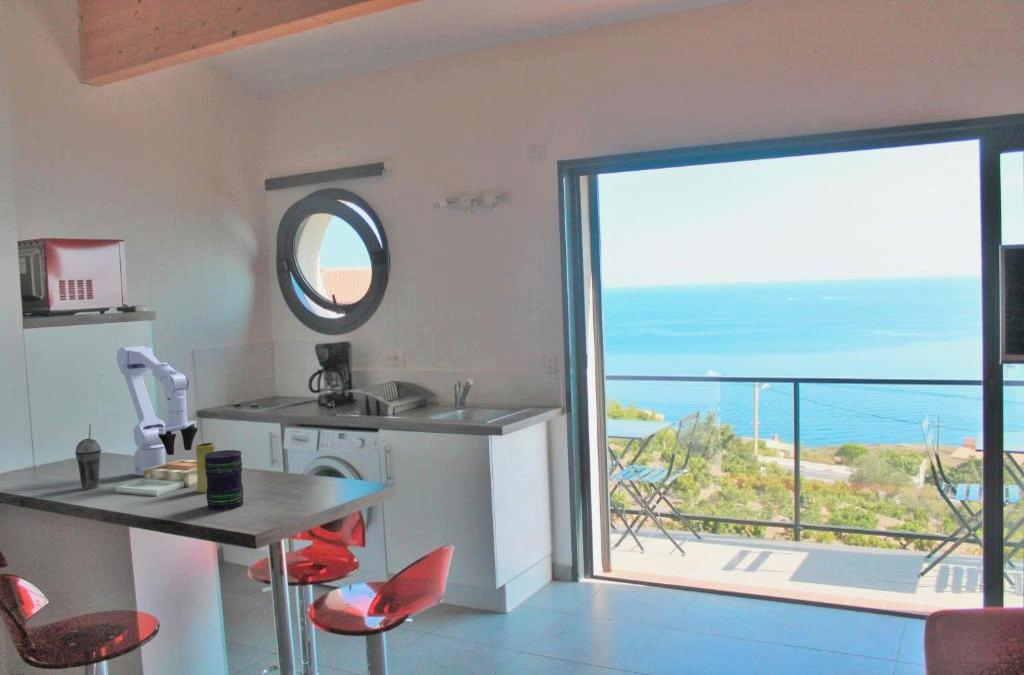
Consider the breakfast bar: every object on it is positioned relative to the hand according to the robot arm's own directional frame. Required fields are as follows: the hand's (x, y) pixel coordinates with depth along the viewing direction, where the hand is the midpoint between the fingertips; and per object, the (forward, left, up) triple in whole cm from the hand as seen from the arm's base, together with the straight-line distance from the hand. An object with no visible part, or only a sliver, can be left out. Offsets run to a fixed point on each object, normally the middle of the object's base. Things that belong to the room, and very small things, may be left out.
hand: (179, 452), depth 258 cm
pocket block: (+2, 0, -9) cm, 9 cm away
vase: (+20, -10, -9) cm, 24 cm away
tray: (+2, -14, -9) cm, 17 cm away
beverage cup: (-20, -17, -9) cm, 28 cm away
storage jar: (+38, -23, -9) cm, 45 cm away
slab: (+1, 0, -7) cm, 7 cm away
